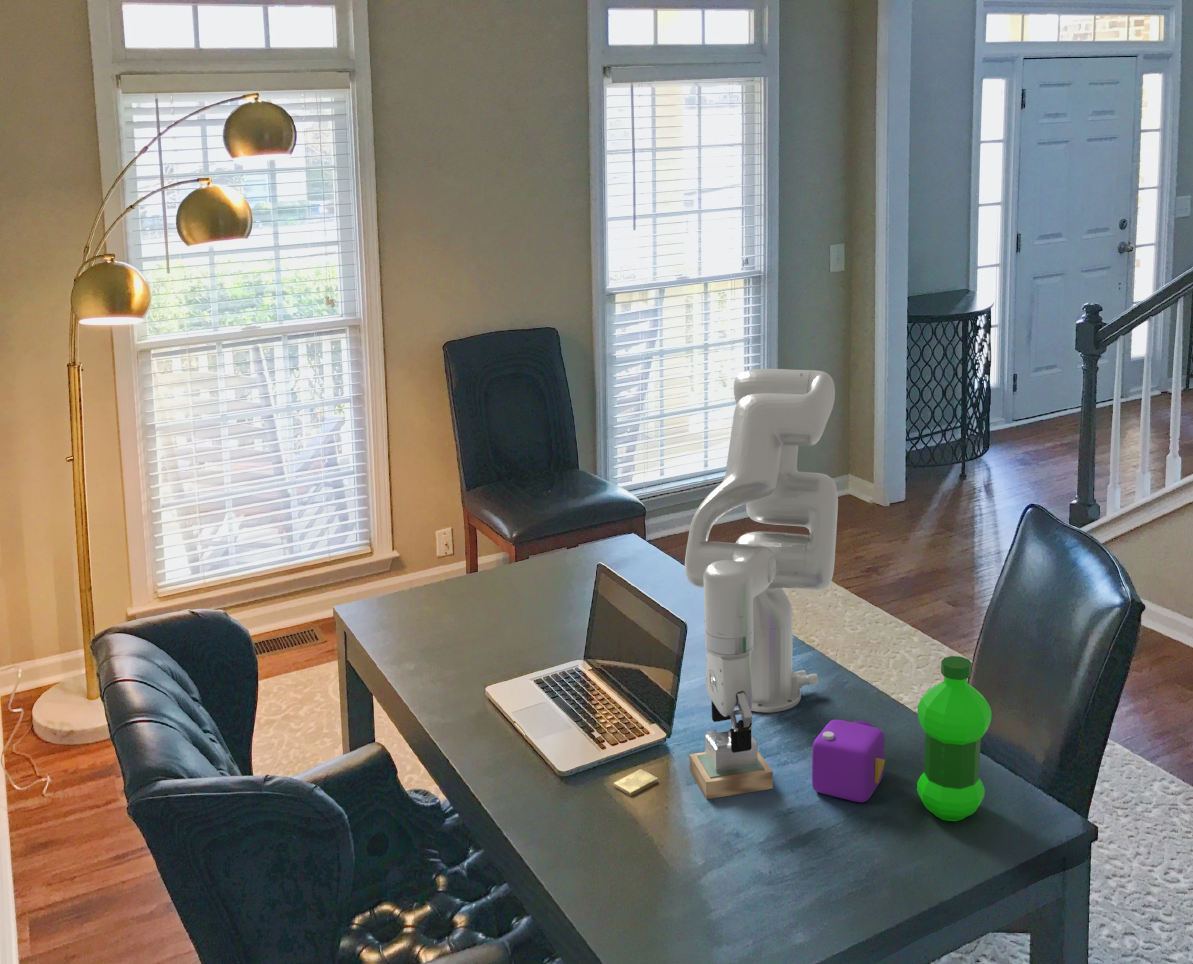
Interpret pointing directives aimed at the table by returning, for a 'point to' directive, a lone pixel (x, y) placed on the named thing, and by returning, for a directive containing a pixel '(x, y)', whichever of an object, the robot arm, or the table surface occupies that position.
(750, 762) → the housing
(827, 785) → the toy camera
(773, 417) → the robot arm
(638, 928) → the table surface
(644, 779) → the cover plate
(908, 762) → the table surface
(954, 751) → the plastic bottle
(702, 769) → the picture frame
